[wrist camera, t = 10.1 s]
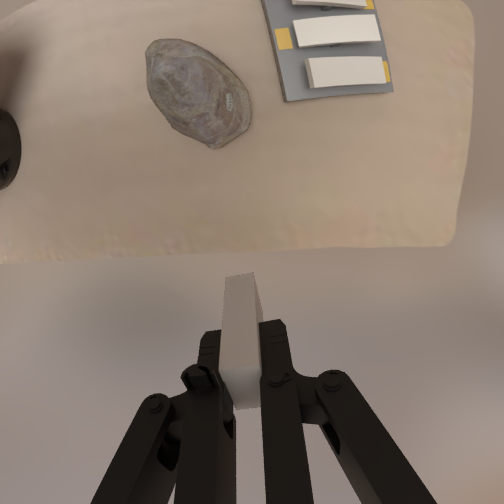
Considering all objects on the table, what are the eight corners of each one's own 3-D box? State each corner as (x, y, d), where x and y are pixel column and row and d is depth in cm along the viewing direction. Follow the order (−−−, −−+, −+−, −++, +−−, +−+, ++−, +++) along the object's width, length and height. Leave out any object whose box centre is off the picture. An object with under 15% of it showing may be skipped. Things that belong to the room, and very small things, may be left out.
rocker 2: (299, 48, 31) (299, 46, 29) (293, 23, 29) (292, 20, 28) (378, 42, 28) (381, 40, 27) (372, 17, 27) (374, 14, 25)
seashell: (254, 148, 36) (218, 41, 23) (168, 160, 39) (114, 73, 26) (258, 104, 40) (231, 13, 27) (183, 117, 43) (143, 38, 30)
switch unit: (284, 102, 37) (289, 101, 33) (259, -7, 30) (261, -19, 26) (384, 92, 36) (399, 92, 32) (360, -11, 29) (372, -21, 25)
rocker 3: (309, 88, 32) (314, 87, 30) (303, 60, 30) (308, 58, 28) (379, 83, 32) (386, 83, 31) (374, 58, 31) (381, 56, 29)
